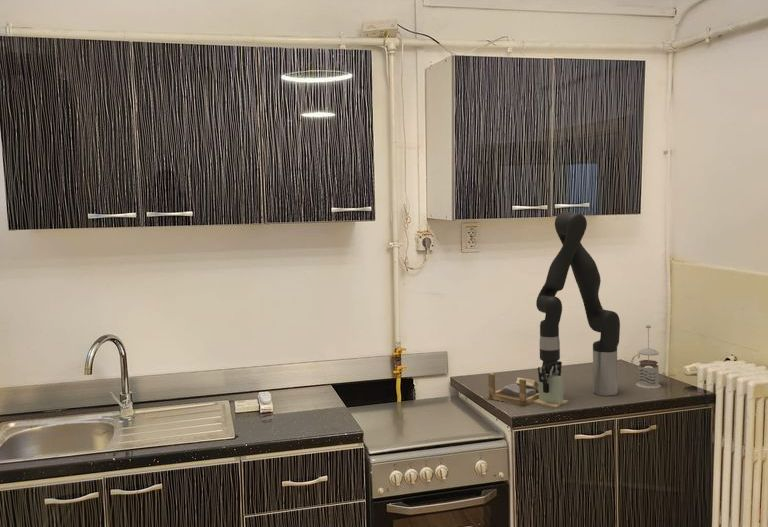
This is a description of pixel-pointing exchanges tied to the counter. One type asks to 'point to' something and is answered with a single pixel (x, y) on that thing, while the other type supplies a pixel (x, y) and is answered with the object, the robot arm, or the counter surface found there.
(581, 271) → the robot arm
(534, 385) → the birch offcut
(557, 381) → the sage board
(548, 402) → the slatted wooden panel
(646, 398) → the counter surface
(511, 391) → the stone block
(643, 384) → the french press
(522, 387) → the oak rack
